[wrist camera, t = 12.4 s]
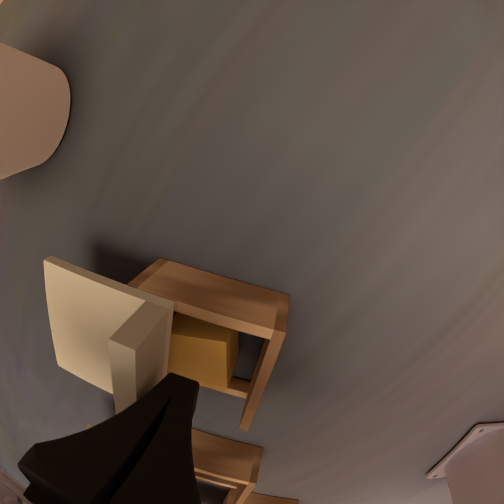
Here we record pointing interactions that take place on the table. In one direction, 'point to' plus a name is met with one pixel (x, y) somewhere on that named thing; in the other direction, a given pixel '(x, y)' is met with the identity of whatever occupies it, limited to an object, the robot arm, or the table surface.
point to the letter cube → (202, 351)
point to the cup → (30, 110)
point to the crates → (248, 321)
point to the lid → (107, 331)
